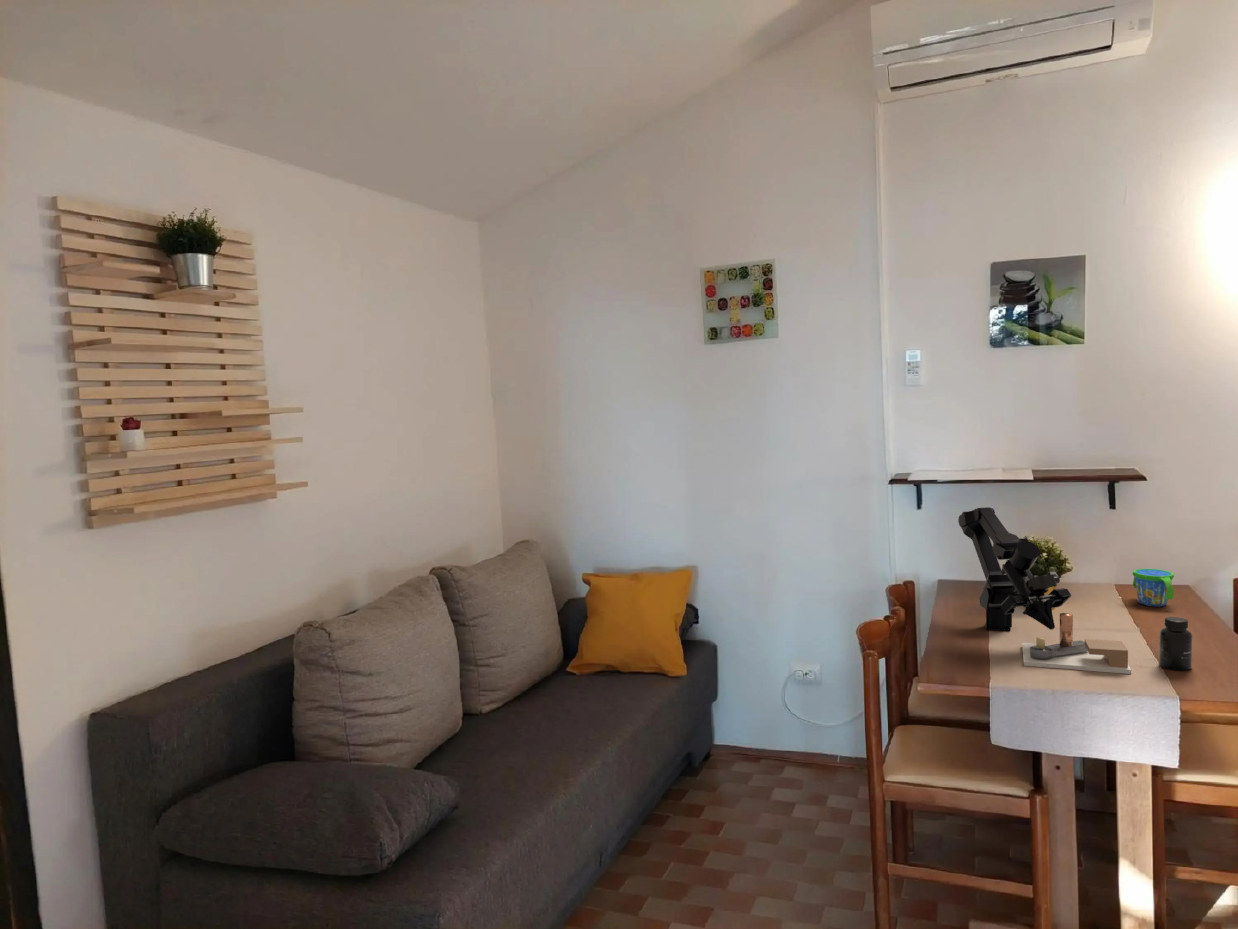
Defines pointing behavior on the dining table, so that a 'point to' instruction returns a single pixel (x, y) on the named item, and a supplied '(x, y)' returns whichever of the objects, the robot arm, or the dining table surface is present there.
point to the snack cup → (1153, 586)
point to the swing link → (1061, 642)
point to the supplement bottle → (1175, 645)
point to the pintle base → (1084, 657)
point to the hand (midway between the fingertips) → (1052, 628)
